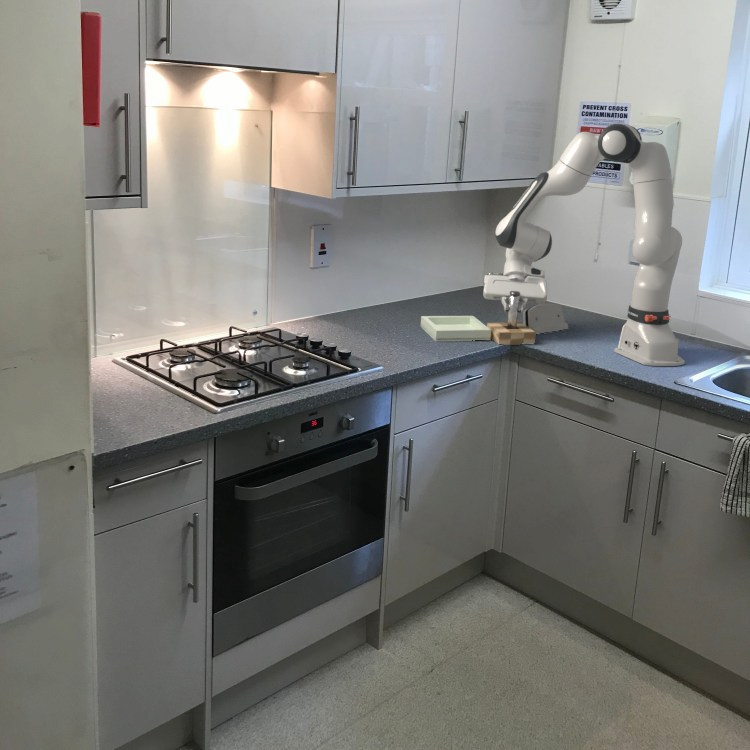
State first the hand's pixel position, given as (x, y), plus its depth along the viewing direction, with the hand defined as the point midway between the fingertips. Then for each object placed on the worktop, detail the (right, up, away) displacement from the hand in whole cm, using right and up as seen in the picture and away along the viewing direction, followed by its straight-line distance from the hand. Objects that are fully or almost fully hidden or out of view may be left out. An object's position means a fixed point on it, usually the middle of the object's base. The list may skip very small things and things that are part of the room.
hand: (513, 311), depth 283 cm
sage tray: (-18, -7, +8) cm, 21 cm away
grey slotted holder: (+13, -5, +18) cm, 23 cm away
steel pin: (0, -7, +3) cm, 8 cm away
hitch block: (-1, -9, +4) cm, 10 cm away
